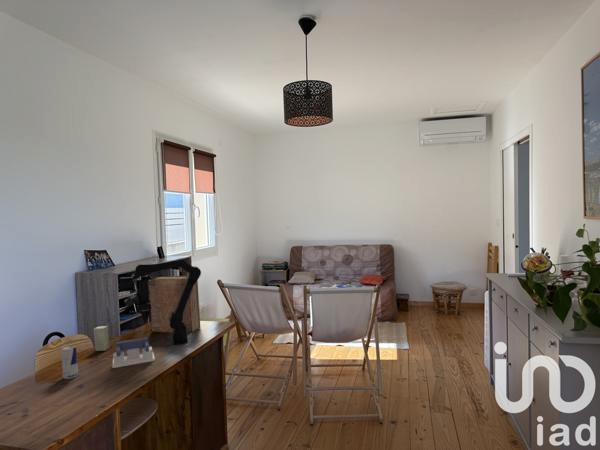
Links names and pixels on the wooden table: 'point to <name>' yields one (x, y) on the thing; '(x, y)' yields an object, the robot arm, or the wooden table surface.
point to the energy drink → (69, 362)
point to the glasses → (132, 345)
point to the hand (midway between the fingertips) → (144, 321)
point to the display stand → (133, 357)
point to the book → (172, 303)
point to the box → (101, 338)
